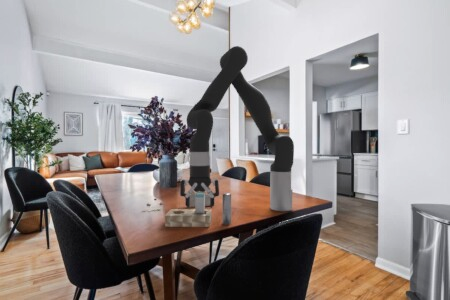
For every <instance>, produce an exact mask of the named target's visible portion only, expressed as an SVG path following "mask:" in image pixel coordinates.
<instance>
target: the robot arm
mask: <svg viewBox="0 0 450 300" xmlns="http://www.w3.org/2000/svg"><path fill="white" fill-rule="evenodd" d="M248 61H249V58H248V54H247V51H246V50H245V48H243V47H242V46H239V45H236V46H232V47H230V49H228V50H227V51H226V52H225V53H223V55H221V56H220V59H219V66H220V68H221V71H220V72H218V74H217V75H216V76H215V78H214V79H213V80H212V82H211V83H210V84H209V85H208V86H207V88H206V90H205V91H204V93H203V94H202V97H200V99H199V101H198V102H196V103H195V104H194V106H193V107H191V109H190V110H189V111H188V113H187V116H186V125H187V126H188V128H189V129H192V130H195V134H194V135H193V136H191V137H190V140H189V161H188V163H189V179H184V178H182V179H181V180H180V190H179V191H180V194H179V195H180V196H181V197H184V198H185V206H186V207H187V208H186V209H188V208H190V207H191V206H190V197H189V196H190V195H191V193H192V191H194V193H195V192H198V191H201V192H204V191H205V193H206V194H207V195H208V194H209V195H210V197H211V198H210V205H209V206H210V209H213V207H215V198H216V197H219V195H220V186H219V185H220V184H219V179H218V178H216V179H211V156H210V139H211V136H212V132H213V127H214V117H213V114H212V112H214V111H216V110H217V109H218V107H219V105H220V103H221V102H222V100H223V98H224V96H225V95H226V93H227V92H228V90H229V87H230V86H231V85H232V86H233V88H234V89H235V91H236V93H237V94H238V96H239V98H240V100H241V101H242V103H243V104H244V106H245V108H246V110H247V112H248V114H249V116H250V117H251V118H252V120H253V122H254V123H255V126H256V128H257V129H258V131H259V132H260V134H261V136H262V138H263V140H264V143H265V145H266V148H267V150H268V152H269V153H270V154H272V155H274V160H273V162H272V163H271V164H270V165H269V167H270V168H269V169H270V170H269V171H270V172H269V175H270V178H269V180H270V181H269V183H270V185H269V187H270V188H269V190H270V191H269V192H270V195H269V197H270V198H269V199H270V200H269V201H270V202H269V208H270V210H272V211H275V212H289V211H293V188H292V167H293V165H294V155H295V145H294V141H293V139H292V138H291V137H290V136H289V135H285V134H283V135H280V134H279V132H278V131H277V129H276V127H275V125H274V122H273V118H272V110H271V107H270V104H269V102H268V100H267V99H266V97H265V95H264V94H263V92H262V91H261V90H259V89H258V88H257V87H255V85H252V84H251V83H250V82H249V81H248V80H247V79H246V77H245V76H244V74H243V73H242V70H243V69H244V68H245V67H246V65H247V64H248ZM211 184H212V185H213V186H214V189H215V190H214V191H215V192H213V190H212V188H210V186H211ZM187 185H189V186H190V189H188V191H187V192H186V186H187Z"/></svg>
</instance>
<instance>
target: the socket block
mask: <svg viewBox="0 0 450 300" xmlns="http://www.w3.org/2000/svg"><path fill="white" fill-rule="evenodd" d="M212 213H213V212H212V209H205V214H195V208H194V209H188V208H186V209H182V208H177V209H176V208H175V209H174V208H173V209H170V210H169V211H168V212H167V213H166V214H165V215H164V222H165V223H164V227H169V228H170V227H171V228H174V227H175V228H176V227H177V228H178V227H180V228H187V227H188V228H192V227H193V228H200V227H201V228H206V227H207V228H210V227H211V224H212V220H213V218H212V215H213V214H212Z"/></svg>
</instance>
